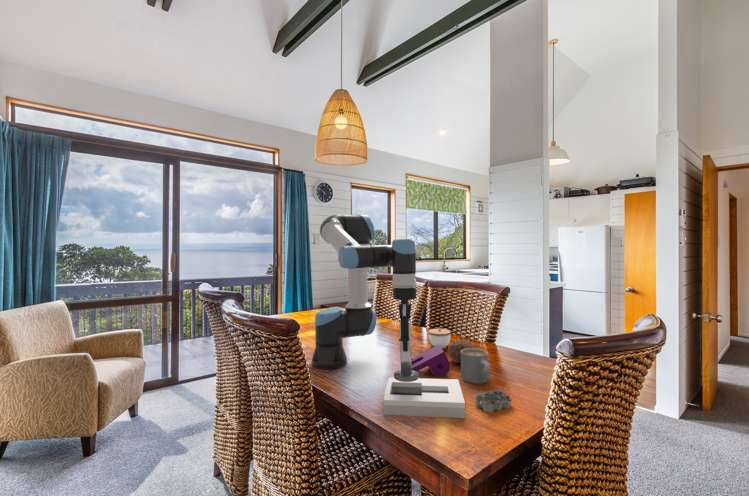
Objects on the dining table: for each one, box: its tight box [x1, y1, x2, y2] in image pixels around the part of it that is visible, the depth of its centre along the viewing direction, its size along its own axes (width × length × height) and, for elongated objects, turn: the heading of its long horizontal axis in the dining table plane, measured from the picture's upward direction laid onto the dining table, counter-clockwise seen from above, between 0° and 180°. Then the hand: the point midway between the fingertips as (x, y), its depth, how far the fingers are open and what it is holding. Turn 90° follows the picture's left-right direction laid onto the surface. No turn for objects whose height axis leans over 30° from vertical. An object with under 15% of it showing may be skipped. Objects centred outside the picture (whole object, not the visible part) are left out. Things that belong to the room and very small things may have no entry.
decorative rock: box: [447, 338, 476, 364], centre depth 153 cm, size 13×11×10 cm
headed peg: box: [393, 320, 420, 382], centre depth 115 cm, size 8×8×18 cm
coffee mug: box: [460, 347, 491, 384], centre depth 133 cm, size 13×10×10 cm
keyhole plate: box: [383, 377, 466, 419], centre depth 115 cm, size 24×18×4 cm
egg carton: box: [473, 388, 514, 413], centre depth 112 cm, size 11×8×4 cm
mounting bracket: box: [412, 345, 451, 377], centre depth 142 cm, size 9×8×18 cm
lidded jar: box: [428, 327, 452, 349], centre depth 176 cm, size 11×11×9 cm
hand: (405, 358), depth 115 cm, fingers closed on headed peg, 3 cm apart
